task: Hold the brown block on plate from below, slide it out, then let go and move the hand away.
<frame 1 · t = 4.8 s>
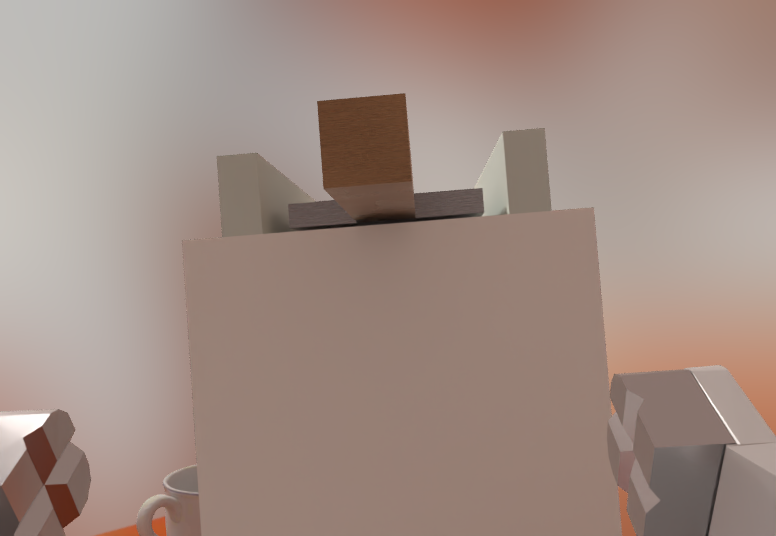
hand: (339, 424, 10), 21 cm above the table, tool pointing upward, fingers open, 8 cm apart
brown block on plate: (383, 190, 28), point 28 cm above the table, slide at 0.0 cm
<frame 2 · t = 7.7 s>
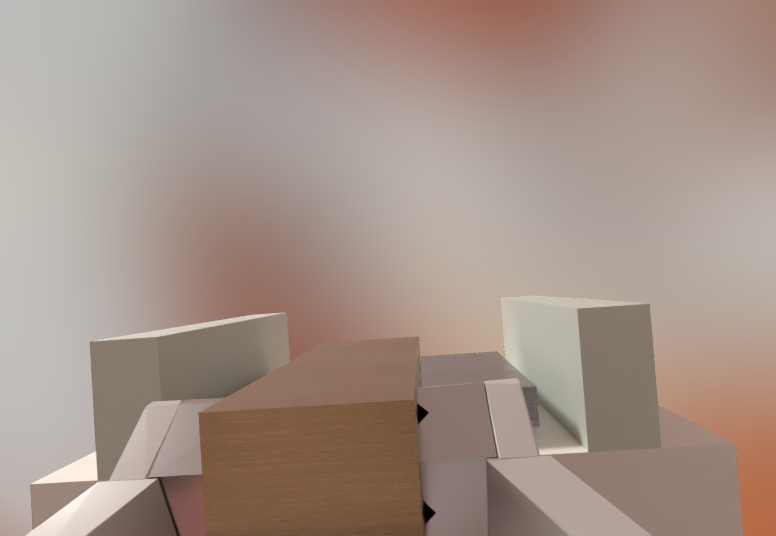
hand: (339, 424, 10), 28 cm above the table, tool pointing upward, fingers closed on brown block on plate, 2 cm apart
brown block on plate: (373, 389, 17), point 28 cm above the table, slide at 0.0 cm, touching gripper
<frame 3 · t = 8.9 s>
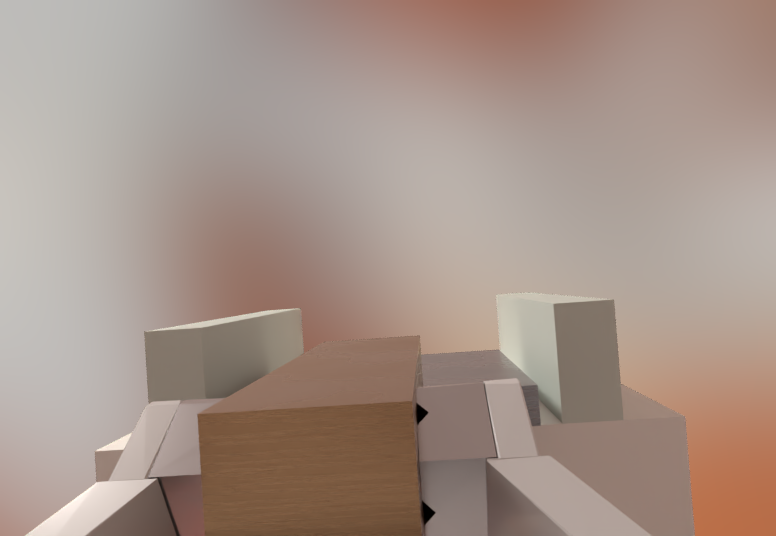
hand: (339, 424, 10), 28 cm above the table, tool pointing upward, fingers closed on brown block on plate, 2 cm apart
brown block on plate: (374, 388, 17), point 27 cm above the table, slide at 3.0 cm, touching gripper
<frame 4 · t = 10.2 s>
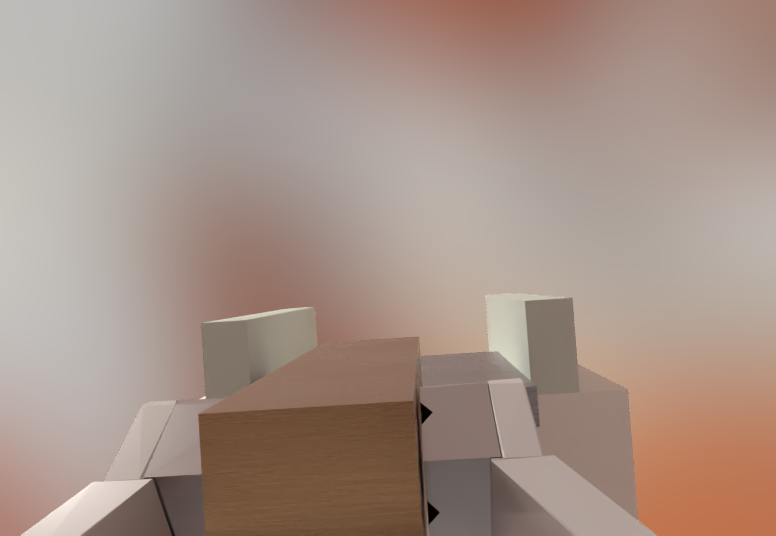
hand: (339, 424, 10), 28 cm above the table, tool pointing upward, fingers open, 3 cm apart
brown block on plate: (373, 389, 17), point 28 cm above the table, slide at 7.9 cm
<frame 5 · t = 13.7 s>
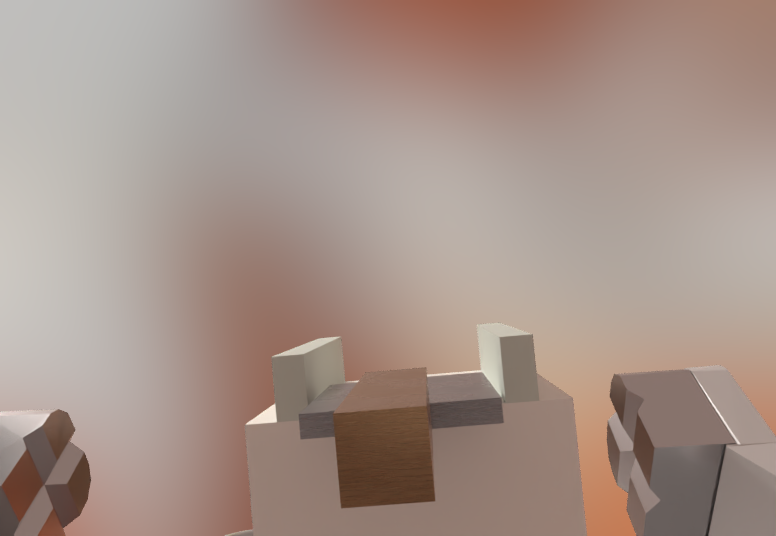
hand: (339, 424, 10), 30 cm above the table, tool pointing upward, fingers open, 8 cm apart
brown block on plate: (398, 401, 27), point 28 cm above the table, slide at 7.9 cm
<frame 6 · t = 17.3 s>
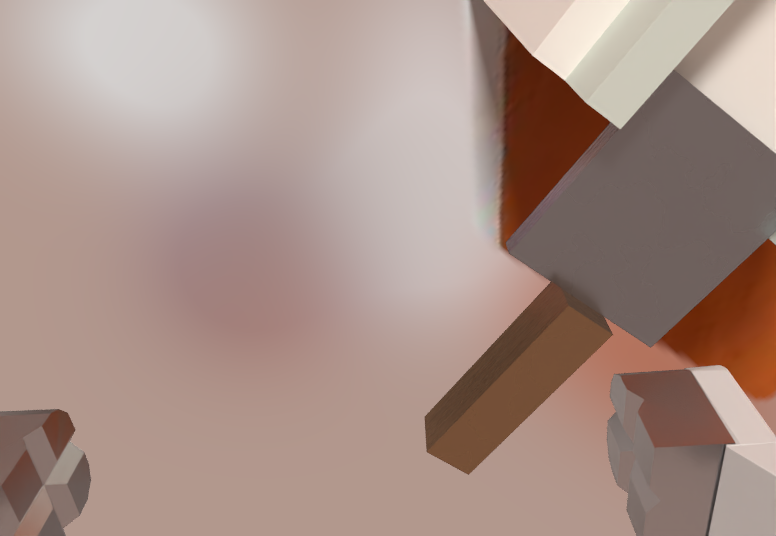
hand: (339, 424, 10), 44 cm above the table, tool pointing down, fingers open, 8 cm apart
brown block on plate: (579, 308, 29), point 28 cm above the table, slide at 7.9 cm
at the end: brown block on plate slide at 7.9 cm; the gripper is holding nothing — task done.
